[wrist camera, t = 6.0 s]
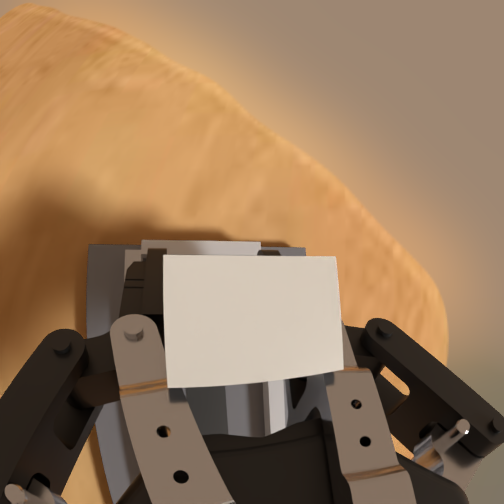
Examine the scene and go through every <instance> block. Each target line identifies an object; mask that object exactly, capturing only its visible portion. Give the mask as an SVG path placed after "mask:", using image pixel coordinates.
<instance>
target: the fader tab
mask: <svg viewBox="0 0 504 504" xmlns="http://www.w3.org/2000/svg"><path fill="white" fill-rule="evenodd" d="M163 305H164V336H165V356H166V371H167V385H168V388H187V387H209V386H225V385H237V384H248V383H258V382H267V381H275V380H283V379H290V378H297V377H304V376H310V375H316V374H322V373H328V372H333V371H339V370H344V366H343V342H342V324H341V309H340V296H339V285H338V274H337V264H336V256H230V255H163Z"/></svg>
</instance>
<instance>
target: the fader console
mask: <svg viewBox="0 0 504 504" xmlns="http://www.w3.org/2000/svg"><path fill="white" fill-rule="evenodd" d="M148 248H167V255H230V256H257V253H258V251H259V250H278V251H279V252H280V254H281V256H306V250H305V248H297V247H261V242H243V241H192V240H142V242H141V245H104V244H89V249H88V265H87V293H86V322H87V339H88V338H92V337H97V336H100V335H103V334H105V333H107V332H109V331H110V329H111V326H112V324H113V323H114V322H115V321H116V320H117V319H119V313H120V306H121V300H122V293H123V289H124V282H125V276H126V271H127V269H128V267H129V266H130V265H131V264H132V263H133V262H134V261H146V259H147V250H148ZM182 389H183V392H184V394H185V397H186V399H187V402H188V404H189V407H190V409H191V412H192V414H193V417H194V419H195V421H196V424H197V426H198V428H199V431H200V433H201V435H210V434H228V435H237V436H247V437H265V436H268V435H270V434H272V433H275V432H277V431H279V430H282V429H284V428H286V425H287V421H288V406H287V396H286V386H285V379H283V380H275V381H267V382H258V383H248V384H237V385H225V386H209V387H187V388H182ZM95 425H96V431H97V436H98V442H99V447H100V452H101V457H102V462H103V466H104V470H105V475H106V479H107V483H108V486H109V490H110V494H111V497H112V501H113V504H116V502H117V501H118V500H119V499H120V497H121V496H122V495H123V493H124V492H125V491H126V490H127V488H128V487H129V486H130V484H131V483H132V482H133V481H134V479H135V478H136V477H137V475H138V474H139V473H140V472H141V471H140V468H139V465H138V462H137V459H136V456H135V453H134V449H133V446H132V442H131V439H130V435H129V432H128V428H127V424H126V420H125V416H124V412H123V408H122V403H121V400H119V401H116V402H112V403H108V404H104V406H103V408H102V410H101V412H100V414H99V416H98V418H97V420H96V422H95Z"/></svg>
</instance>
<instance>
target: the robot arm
mask: <svg viewBox="0 0 504 504" xmlns="http://www.w3.org/2000/svg"><path fill="white" fill-rule="evenodd" d="M163 255H167V248H148V250H147V259H146V261H134V262H133V263H132V264H131V265H130V266H129V267H128V269H127V271H126V276H125V282H124V289H123V293H122V300H121V306H120V313H119V319H117V320H116V321H115V322H114V323H113V324H112V326H111V329H110V331H109V332H107V333H105V334H103V335H100V336H97V337H92V338H88V339H83V337H82V336H81V335H80V334H79V333H78V332H76V331H74V330H71V329H59V330H56V331H53V332H51V333H50V334H48V335H47V336H46V337H45V338H44V339H43V341H42V342H41V343H40V345H39V346H38V347H37V348H36V350H35V351H34V352H33V354H32V355H31V356H30V358H29V359H28V360H27V362H26V363H25V364H24V366H23V367H22V368H21V370H20V371H19V373H18V374H17V375H16V377H15V378H14V380H13V381H12V382H11V384H10V385H9V387H8V388H7V390H6V391H5V393H4V394H3V396H2V397H1V399H0V504H67V503H66V501H65V500H64V499H63V498H62V497H61V494H62V492H63V490H64V487H65V485H66V483H67V481H68V478H69V476H70V474H71V472H72V470H73V467H74V465H75V463H76V461H77V459H78V457H79V455H80V452H81V450H82V448H83V446H84V444H85V442H86V440H87V438H88V436H89V434H90V432H91V430H92V428H93V426H94V424H95V422H96V420H97V418H98V416H99V414H100V412H101V410H102V408H103V406H104V404H108V403H112V402H116V401H119V400H121V403H122V408H123V412H124V416H125V420H126V424H127V428H128V432H129V435H130V439H131V442H132V446H133V449H134V453H135V456H136V459H137V462H138V465H139V468H140V471H141V472H140V473H139V474H138V475H137V477H136V478H135V479H134V481H133V482H132V483H131V484H130V486H129V487H128V488H127V490H126V491H125V492H124V493H123V495H122V496H121V497H120V499H119V500H118V501H117V502H116V504H469V501H468V498H467V496H466V494H465V492H464V491H465V489H466V488H467V486H468V484H469V482H470V481H471V479H472V477H473V476H474V474H475V472H476V470H477V468H478V467H479V464H480V463H481V461H482V459H483V458H484V457H485V456H487V455H488V454H490V453H491V452H492V451H493V450H495V449H496V448H497V447H499V446H500V445H501V444H502V443H504V417H503V416H502V415H501V414H500V413H499V412H498V411H497V410H495V409H494V408H493V407H492V406H491V405H490V404H489V403H487V402H486V401H485V400H484V399H483V398H482V397H481V396H479V395H478V394H477V393H476V392H475V391H474V390H472V389H471V388H470V387H469V386H468V385H467V384H465V383H464V382H463V381H462V380H461V379H460V378H458V377H457V376H456V375H455V374H454V373H453V372H451V371H450V370H449V369H448V368H447V367H445V366H444V365H443V364H442V363H441V362H440V361H438V360H437V359H436V358H435V357H434V356H432V355H431V354H430V353H429V352H427V351H426V350H425V349H424V348H423V347H421V346H420V345H419V344H418V343H417V342H415V341H414V340H413V339H412V338H410V337H409V336H408V335H407V334H406V333H404V332H403V331H402V330H401V329H399V328H398V327H397V326H396V325H394V324H393V323H392V322H390V321H388V320H385V319H382V318H373V319H371V320H369V321H368V322H367V324H366V326H365V328H358V327H351V326H345V325H344V323H343V321H342V320H341V324H342V342H343V366H344V370H339V371H333V372H328V373H322V374H316V375H310V376H304V377H297V378H290V379H285V386H286V396H287V406H288V421H287V425H286V428H284V429H282V430H279V431H277V432H275V433H272V434H270V435H268V436H265V437H247V436H237V435H228V434H210V435H201V433H200V431H199V428H198V426H197V424H196V421H195V419H194V417H193V414H192V412H191V409H190V407H189V404H188V402H187V399H186V397H185V394H184V392H183V389H182V388H168V385H167V371H166V356H165V336H164V305H163ZM257 256H281V254H280V252H279V251H278V250H259V251H258V253H257ZM385 366H386V367H387V368H388V369H389V370H391V371H392V372H393V373H394V374H395V375H396V376H397V377H398V378H400V379H401V380H402V381H403V382H404V383H405V384H406V385H407V386H408V388H409V390H410V394H409V395H404V394H402V393H401V392H400V391H399V390H398V389H397V388H395V387H394V386H393V385H392V384H391V383H390V382H389V381H388V380H387V379H385V378H384V377H383V376H382V375H381V374H380V372H381V371H382V370H383V368H384V367H385ZM390 433H391V434H392V435H393V436H394V437H395V438H396V439H398V440H399V441H400V442H401V443H402V444H403V445H404V446H405V447H406V448H407V449H408V450H409V451H410V452H412V453H413V454H414V457H413V458H412V459H411V460H410V459H408V458H406V457H404V456H403V455H401V454H399V453H397V452H395V449H394V445H393V441H392V438H391V434H390Z"/></svg>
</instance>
